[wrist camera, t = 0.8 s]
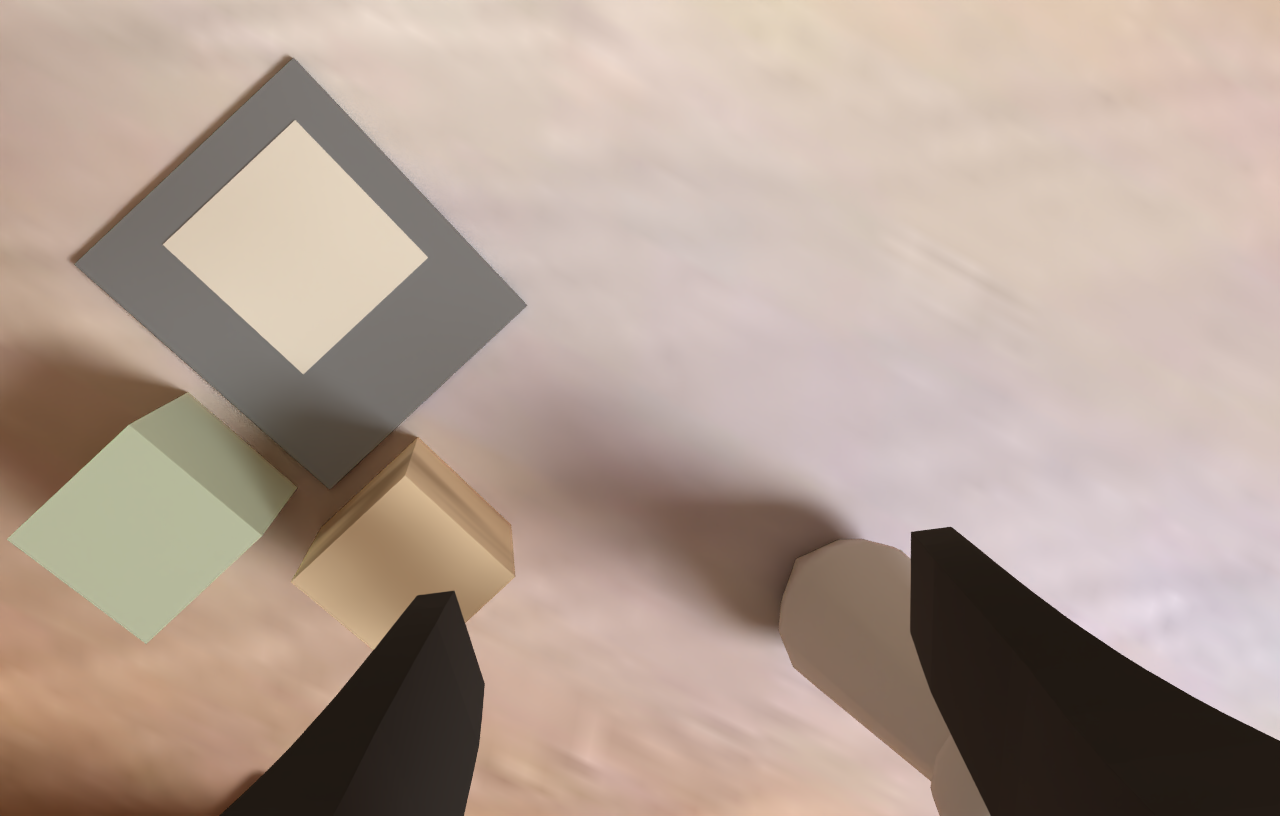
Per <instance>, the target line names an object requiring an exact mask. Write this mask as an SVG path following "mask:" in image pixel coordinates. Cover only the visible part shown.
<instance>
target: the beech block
mask: <svg viewBox="0 0 1280 816" xmlns="http://www.w3.org/2000/svg"><path fill="white" fill-rule="evenodd" d="M514 577H515V567H514V555H513V542H512V530H511V524H510V523H509V522H507V521H506V520H505V519H504V518H503V517H502V516H501V515H500V514H499V513H498V512H497V511H496V510H495V509H494V508H493V507H492V506H490V505H489V504H488V503H487V502H486V501H485V500H484V499H483V498H482V497H481V496H480V495H479V494H478V493H477V492H476V491H475V490H474V489H472V488H471V487H470V486H469V485H468V484H467V483H466V482H465V481H464V480H463V479H462V478H461V477H460V476H459V475H458V474H457V473H456V472H454V471H453V470H452V469H451V468H450V467H449V466H448V465H447V464H446V463H445V462H444V461H443V460H442V459H441V458H440V457H439V456H437V455H436V454H435V453H434V452H433V451H432V450H431V449H430V448H429V447H428V446H427V445H426V444H425V443H424V442H423V441H422V440H421V439H419V438H416V439H415V440H414V441H413V442H412V443H411V444H410V445H409V446H408V447H407V448H406V449H405V450H404V451H402V452H401V453H400V454H399V455H398V456H397V457H396V458H395V459H394V460H393V461H392V462H391V463H390V464H389V465H387V466H386V467H385V468H384V469H383V470H382V471H381V472H380V473H379V474H378V475H377V476H376V477H375V478H374V479H372V480H371V481H370V482H369V483H368V484H367V485H366V486H365V487H364V488H363V489H362V490H361V491H360V492H358V493H357V494H356V495H355V496H354V497H353V498H352V499H351V500H350V501H349V502H348V503H347V504H346V505H345V506H343V507H342V508H341V509H340V510H339V511H338V512H337V513H336V514H335V515H334V516H333V517H332V518H331V519H330V520H328V521H327V522H326V523H325V524H324V525H323V526H322V527H321V528H320V530H319V532H318V534H317V536H316V538H315V539H314V541H313V543H312V545H311V547H310V548H309V550H308V552H307V554H306V556H305V557H304V559H303V561H302V563H301V565H300V566H299V568H298V570H297V572H296V574H295V575H294V577H293V579H292V581H291V583H292V584H294V585H295V586H296V587H297V588H298V589H300V590H301V591H302V592H303V593H305V594H306V595H307V596H308V597H309V598H311V599H312V600H313V601H314V602H315V603H317V604H318V605H319V606H320V607H321V608H323V609H324V610H325V611H326V612H328V613H329V614H330V615H331V616H332V617H334V618H335V619H336V620H337V621H338V622H340V623H341V624H342V625H343V626H345V627H346V628H347V629H348V630H349V631H351V632H352V633H353V634H354V635H355V636H357V637H358V638H359V639H360V640H361V641H363V642H364V643H365V644H366V645H368V646H369V647H370V648H371V649H372V650H374V649H375V648H376V646H377V645H378V644H379V643H380V641H381V640H382V639H383V637H384V636H385V635H386V634H387V632H388V631H389V630H390V629H391V627H392V626H393V625H394V623H395V622H396V621H397V620H398V618H399V617H400V616H401V615H402V613H403V612H404V611H405V610H406V608H407V607H408V606H409V605H410V604H411V602H412V601H413V600H414V599H415V597H416V596H417V595H423V594H431V593H439V592H447V591H455V594H456V597H457V600H458V603H459V606H460V609H461V612H462V615H463V618H464V621H465V623H466V622H467V621H468V620H469V619H470V618H471V617H472V616H473V615H474V614H476V613H477V612H478V611H479V610H480V609H481V608H482V607H483V606H484V605H485V604H486V603H487V602H489V601H490V600H491V599H492V598H493V597H494V596H495V595H496V594H497V593H498V592H499V591H500V590H501V589H503V588H504V587H505V586H506V585H507V584H508V583H509V582H510V581H511V580H512V579H513V578H514Z"/></svg>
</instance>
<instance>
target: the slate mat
mask: <svg viewBox="0 0 1280 816" xmlns="http://www.w3.org/2000/svg"><path fill="white" fill-rule="evenodd" d="M74 265H75V266H77V267H78V268H79V269H80V270H81V271H82V272H83V273H85V274H86V275H87V276H88V277H89V278H90V279H91V280H93V281H94V282H95V283H96V284H97V285H98V286H99V287H100V288H102V289H103V290H104V291H105V292H106V293H107V294H108V295H110V296H111V297H112V298H113V299H114V300H115V301H116V302H117V303H119V304H120V305H121V306H122V307H123V308H124V309H125V310H127V311H128V312H129V313H130V314H131V315H132V316H133V317H134V318H136V319H137V320H138V321H139V322H140V323H141V324H142V325H144V326H145V327H146V328H147V329H148V330H149V331H150V332H151V333H153V334H154V335H155V336H156V337H157V338H158V339H159V340H161V341H162V342H163V343H164V344H165V345H166V346H167V347H168V348H170V349H171V350H172V351H173V352H174V353H175V354H176V355H178V356H179V357H180V358H181V359H182V360H183V361H184V362H185V363H187V364H188V365H189V366H190V367H191V368H192V369H193V370H195V371H196V372H197V373H198V374H199V375H200V376H201V377H203V378H204V379H205V380H206V381H207V382H208V383H209V384H210V385H212V386H213V387H214V388H215V389H216V390H217V391H218V392H220V393H221V394H222V395H223V396H224V397H225V398H226V399H227V400H229V401H230V402H231V403H232V404H233V405H234V406H235V407H237V408H238V409H239V410H240V411H241V412H242V413H243V414H244V415H246V416H247V417H248V418H249V419H250V420H251V421H252V422H254V423H255V424H256V425H257V426H258V427H259V428H260V429H261V430H263V431H264V432H265V433H266V434H267V435H268V436H269V437H271V438H272V439H273V440H274V441H275V442H276V443H277V444H278V445H280V446H281V447H282V448H283V449H284V450H285V451H286V452H288V453H289V454H290V455H291V456H292V457H293V458H294V459H295V460H297V461H298V462H299V463H300V464H301V465H302V466H303V467H305V468H306V469H307V470H308V471H309V472H310V473H311V474H313V475H314V476H315V477H316V478H317V479H318V480H319V481H320V482H322V483H323V484H324V485H325V486H326V487H327V488H328V489H331V488H332V487H333V486H334V485H335V484H336V483H337V482H339V481H340V480H341V479H342V478H343V477H344V476H345V475H346V474H347V473H348V472H349V471H350V470H351V469H352V468H354V467H355V466H356V465H357V464H358V463H359V462H360V461H361V460H362V459H363V458H364V457H365V456H366V455H367V454H369V453H370V452H371V451H372V450H373V449H374V448H375V447H376V446H377V445H378V444H379V443H380V442H381V441H382V440H384V439H385V438H386V437H387V436H388V435H389V434H390V433H391V432H392V431H393V430H394V429H395V428H396V427H397V426H399V425H400V424H401V423H402V422H403V421H404V420H405V419H406V418H407V417H408V416H409V415H410V414H411V413H412V412H414V411H415V410H416V409H417V408H418V407H419V406H420V405H421V404H422V403H423V402H424V401H425V400H426V399H427V398H429V397H430V396H431V395H432V394H433V393H434V392H435V391H436V390H437V389H438V388H439V387H440V386H441V385H443V384H444V383H445V382H446V381H447V380H448V379H449V378H450V377H451V376H452V375H453V374H454V373H455V372H456V371H458V370H459V369H460V368H461V367H462V366H463V365H464V364H465V363H466V362H467V361H468V360H469V359H470V358H471V357H473V356H474V355H475V354H476V353H477V352H478V351H479V350H480V349H481V348H482V347H483V346H484V345H485V344H486V343H488V342H489V341H490V340H491V339H492V338H493V337H494V336H495V335H496V334H497V333H498V332H499V331H500V330H501V329H503V328H504V327H505V326H506V325H507V324H508V323H509V322H510V321H511V320H512V319H513V318H514V317H515V316H516V315H518V314H519V313H520V312H521V311H522V310H523V309H524V308H525V307H526V306H527V305H526V304H525V302H524V301H523V300H522V299H521V298H520V297H519V296H518V295H517V294H516V293H515V292H514V291H513V290H512V289H511V288H510V287H509V285H508V284H507V283H506V282H505V281H504V280H503V279H502V278H501V277H500V276H499V275H498V274H497V273H496V272H495V271H494V270H493V269H492V267H491V266H490V265H489V264H488V263H487V262H486V261H485V260H484V259H483V258H482V257H481V256H480V255H479V254H478V253H477V252H476V250H475V249H474V248H473V247H472V246H471V245H470V244H469V243H468V242H467V241H466V240H465V239H464V238H463V237H462V236H461V235H460V234H459V232H458V231H457V230H456V229H455V228H454V227H453V226H452V225H451V224H450V223H449V222H448V221H447V220H446V219H445V218H444V217H443V215H442V214H441V213H440V212H439V211H438V210H437V209H436V208H435V207H434V206H433V205H432V204H431V203H430V202H429V201H428V200H427V199H426V197H425V196H424V195H423V194H422V193H421V192H420V191H419V190H418V189H417V188H416V187H415V186H414V185H413V184H412V183H411V182H410V180H409V179H408V178H407V177H406V176H405V175H404V174H403V173H402V172H401V171H400V170H399V169H398V168H397V167H396V166H395V165H394V164H393V162H392V161H391V160H390V159H389V158H388V157H387V156H386V155H385V154H384V153H383V152H382V151H381V150H380V149H379V148H378V147H377V146H376V144H375V143H374V142H373V141H372V140H371V139H370V138H369V137H368V136H367V135H366V134H365V133H364V132H363V131H362V130H361V129H360V127H359V126H358V125H357V124H356V123H355V122H354V121H353V120H352V119H351V118H350V117H349V116H348V115H347V114H346V113H345V112H344V111H343V109H342V108H341V107H340V106H339V105H338V104H337V103H336V102H335V101H334V100H333V99H332V98H331V97H330V96H329V95H328V94H327V92H326V91H325V90H324V89H323V88H322V87H321V86H320V85H319V84H318V83H317V82H316V81H315V80H314V79H313V78H312V77H311V76H310V74H309V73H308V72H307V71H306V70H305V69H304V68H303V67H302V66H301V65H300V64H299V63H298V62H297V61H296V60H295V59H294V58H293V59H291V60H290V61H289V62H288V63H287V64H286V65H285V66H284V67H283V68H282V69H281V70H280V71H279V72H278V73H277V74H276V75H274V76H273V77H272V78H271V79H270V80H269V81H268V82H267V83H266V84H265V85H264V86H263V87H262V88H261V89H260V90H259V91H258V92H256V93H255V94H254V95H253V96H252V97H251V98H250V99H249V100H248V101H247V102H246V103H245V104H244V105H243V106H242V107H241V108H239V109H238V110H237V111H236V112H235V113H234V114H233V115H232V116H231V117H230V118H229V119H228V120H227V121H226V122H225V123H224V124H223V125H221V126H220V127H219V128H218V129H217V130H216V131H215V132H214V133H213V134H212V135H211V136H210V137H209V138H208V139H207V140H206V141H204V142H203V143H202V144H201V145H200V146H199V147H198V148H197V149H196V150H195V151H194V152H193V153H192V154H191V155H190V156H189V157H188V158H186V159H185V160H184V161H183V162H182V163H181V164H180V165H179V166H178V167H177V168H176V169H175V170H174V171H173V172H172V173H171V174H169V175H168V176H167V177H166V178H165V179H164V180H163V181H162V182H161V183H160V184H159V185H158V186H157V187H156V188H155V189H154V190H153V191H151V192H150V193H149V194H148V195H147V196H146V197H145V198H144V199H143V200H142V201H141V202H140V203H139V204H138V205H137V206H136V207H134V208H133V209H132V210H131V211H130V212H129V213H128V214H127V215H126V216H125V217H124V218H123V219H122V220H121V221H120V222H119V223H118V224H116V225H115V226H114V227H113V228H112V229H111V230H110V231H109V232H108V233H107V234H106V235H105V236H104V237H103V238H102V239H101V240H99V241H98V242H97V243H96V244H95V245H94V246H93V247H92V248H91V249H90V250H89V251H88V252H87V253H86V254H85V255H84V256H83V257H81V258H80V259H79V260H78V261H77V262H76V263H75V264H74Z"/></svg>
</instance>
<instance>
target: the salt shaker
mask: <svg viewBox="0 0 1280 816" xmlns="http://www.w3.org/2000/svg"><path fill="white" fill-rule="evenodd" d="M910 590H911V559H910V558H909V557H908V556H907V555H906V554H905V553H903V552H902V551H901V550H899V549H897V548H895V547H892V546H888V545H884V544H880V543H876V542H872V541H868V540H864V539H844V540H836V541H834V542H832V543H830V544H828V545H825V546H823V547H821V548H819V549H817V550H814V551H812V552H810V553H808V554H806V555H803V556H801V557H799V558H797V559H796V560H795V563H794V566H793V569H792V572H791V574H790V577H789V580H788V583H787V586H786V589H785V592H784V594H783V597H782V600H781V606H780V618H779V633H780V635H781V638H782V641H783V643H784V645H785V648H786V650H787V653H788V655H789V658H790V660H791V663H792V665H793V667H794V668H795V669H796V670H797V671H798V672H800V673H801V674H802V675H803V676H804V677H805V678H807V679H808V680H809V681H810V682H811V683H812V684H814V685H815V686H816V687H817V688H818V689H820V690H821V691H822V692H823V693H824V694H826V695H827V696H828V697H829V698H831V699H832V700H833V701H834V702H835V703H837V704H838V705H839V706H840V707H841V708H843V709H844V710H845V711H846V712H848V713H849V714H850V715H851V716H852V717H854V718H855V719H856V720H857V721H858V722H860V723H861V724H862V725H863V726H865V727H866V728H867V729H868V730H869V731H871V732H872V733H873V734H874V735H875V736H877V737H878V738H879V739H880V740H882V741H883V742H884V743H885V744H886V745H888V746H889V747H890V748H891V749H892V750H894V751H895V752H896V753H897V754H899V755H900V756H901V757H902V758H903V759H905V760H906V761H907V762H908V763H909V764H911V765H912V766H913V767H914V768H916V769H917V770H918V771H919V772H920V773H922V774H923V775H924V776H925V777H926V778H928V779H929V780H930V781H931V787H930V788H931V791H932V795H933V798H934V801H935V804H936V807H937V810H938V812H939V815H940V816H991V815H990V813H989V811H988V809H987V807H986V805H985V803H984V801H983V799H982V797H981V795H980V793H979V791H978V789H977V787H976V785H975V783H974V781H973V779H972V777H971V774H970V772H969V770H968V768H967V766H966V764H965V762H964V760H963V758H962V756H961V754H960V752H959V750H958V748H957V746H956V744H955V742H954V740H953V738H952V736H951V734H950V732H949V729H948V727H947V725H946V723H945V721H944V719H943V717H942V715H941V713H940V711H939V709H938V707H937V704H936V702H935V700H934V698H933V696H932V694H931V692H930V689H929V686H928V683H927V680H926V678H925V675H924V672H923V669H922V666H921V663H920V660H919V657H918V654H917V651H916V648H915V645H914V642H913V639H912V636H911V633H910Z"/></svg>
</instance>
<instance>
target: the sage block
mask: <svg viewBox="0 0 1280 816" xmlns="http://www.w3.org/2000/svg"><path fill="white" fill-rule="evenodd" d="M297 488H298V487H296V486H295V485H294V484H293V483H292V482H291V481H290V480H288V479H287V478H286V477H285V476H284V475H283V474H282V473H280V472H279V471H278V470H277V469H276V468H275V467H274V466H272V465H271V464H270V463H269V462H268V461H267V460H265V459H264V458H263V457H262V456H261V455H260V454H259V453H257V452H256V451H255V450H254V449H253V448H252V447H251V446H249V445H248V444H247V443H246V442H245V441H244V440H242V439H241V438H240V437H239V436H238V435H237V434H236V433H234V432H233V431H232V430H231V429H230V428H229V427H228V426H226V425H225V424H224V423H223V422H222V421H221V420H219V419H218V418H217V417H216V416H215V415H214V414H213V413H211V412H210V411H209V410H208V409H207V408H206V407H205V406H203V405H202V404H201V403H200V402H199V401H198V400H196V399H195V398H194V397H193V396H192V395H191V394H190V393H186V394H184V395H182V396H180V397H178V398H177V399H175V400H173V401H171V402H169V403H167V404H166V405H164V406H162V407H160V408H158V409H156V410H155V411H153V412H151V413H149V414H147V415H145V416H144V417H142V418H140V419H138V420H136V421H134V422H133V423H131V424H129V425H128V426H127V427H126V428H125V429H124V430H123V431H122V432H120V433H119V434H118V435H117V436H116V437H115V438H114V439H113V440H112V441H111V442H110V443H109V444H108V445H107V446H106V447H105V448H103V449H102V450H101V451H100V452H99V453H98V454H97V455H96V456H95V457H94V458H93V459H92V460H91V461H90V462H89V463H87V464H86V465H85V466H84V467H83V468H82V469H81V470H80V471H79V472H78V473H77V474H76V475H75V476H74V477H73V478H71V479H70V480H69V481H68V482H67V483H66V484H65V485H64V486H63V487H62V488H61V489H60V490H59V491H58V492H57V493H55V494H54V495H53V496H52V497H51V498H50V499H49V500H48V501H47V502H46V503H45V504H44V505H43V506H42V507H41V508H40V509H38V510H37V511H36V512H35V513H34V514H33V515H32V516H31V517H30V518H29V519H28V520H27V521H26V522H25V523H24V524H22V525H21V526H20V527H19V528H18V529H17V530H16V531H15V532H14V533H13V534H12V535H11V536H10V537H9V538H8V539H7V540H8V541H9V542H11V543H12V544H13V545H15V546H16V547H17V548H19V549H20V550H21V551H23V552H24V553H25V554H27V555H28V556H29V557H31V558H32V559H33V560H35V561H36V562H37V563H39V564H40V565H41V566H43V567H44V568H45V569H47V570H48V571H49V572H51V573H52V574H53V575H55V576H56V577H57V578H59V579H60V580H61V581H63V582H64V583H65V584H67V585H68V586H69V587H71V588H72V589H73V590H75V591H76V592H77V593H79V594H80V595H81V596H83V597H84V598H85V599H87V600H88V601H89V602H91V603H92V604H93V605H95V606H96V607H97V608H99V609H100V610H101V611H103V612H104V613H105V614H107V615H108V616H109V617H111V618H112V619H113V620H115V621H116V622H117V623H119V624H120V625H121V626H123V627H124V628H125V629H127V630H128V631H129V632H131V633H132V634H133V635H135V636H136V637H137V638H139V639H140V640H141V641H143V642H144V643H145V644H147V643H148V642H149V641H150V640H151V639H152V638H153V637H154V636H155V635H156V634H158V633H159V632H160V631H161V630H162V629H163V628H164V627H165V626H166V625H167V624H168V623H169V622H170V621H171V620H173V619H174V618H175V617H176V616H177V615H178V614H179V613H180V612H181V611H182V610H183V609H184V608H185V607H186V606H188V605H189V604H190V603H191V602H192V601H193V600H194V599H195V598H196V597H197V596H198V595H199V594H200V593H201V592H203V591H204V590H205V589H206V588H207V587H208V586H209V585H210V584H211V583H212V582H213V581H214V580H215V579H216V578H218V577H219V576H220V575H221V574H222V573H223V572H224V571H225V570H226V569H227V568H228V567H229V566H230V565H231V564H233V563H234V562H235V561H236V560H237V559H238V558H239V557H240V556H241V555H242V554H243V553H244V552H245V551H246V550H248V549H249V548H250V547H251V546H252V545H253V544H254V543H255V542H256V541H257V540H258V539H259V538H260V537H261V536H262V535H263V534H264V533H265V531H266V530H267V529H268V527H269V526H270V524H271V523H272V522H273V520H274V519H275V518H276V516H277V515H278V514H279V512H280V511H281V509H282V508H283V507H284V505H285V504H286V503H287V501H288V500H289V499H290V497H291V496H292V494H293V493H294V492H295V490H296V489H297Z"/></svg>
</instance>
